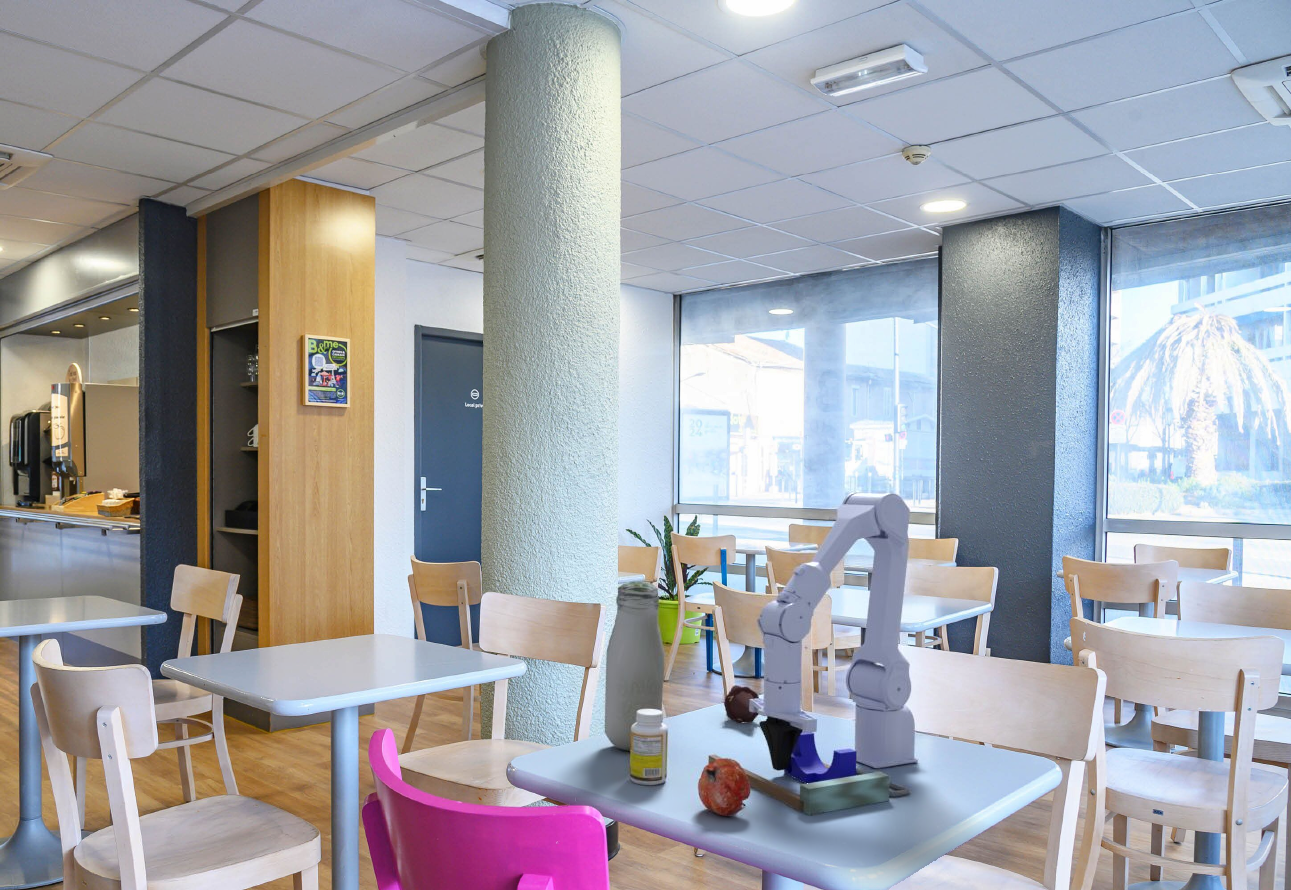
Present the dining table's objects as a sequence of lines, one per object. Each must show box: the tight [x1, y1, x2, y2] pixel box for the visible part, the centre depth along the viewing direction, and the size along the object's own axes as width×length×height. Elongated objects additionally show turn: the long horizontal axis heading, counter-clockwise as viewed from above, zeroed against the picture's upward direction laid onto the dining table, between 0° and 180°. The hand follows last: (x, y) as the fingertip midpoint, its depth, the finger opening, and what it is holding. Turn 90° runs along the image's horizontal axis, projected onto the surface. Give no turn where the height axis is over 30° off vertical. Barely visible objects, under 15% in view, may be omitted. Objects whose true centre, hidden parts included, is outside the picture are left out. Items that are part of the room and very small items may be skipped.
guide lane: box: [707, 754, 890, 816], centre depth 139 cm, size 15×25×4 cm, turn 29°
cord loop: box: [856, 767, 911, 798], centre depth 139 cm, size 4×13×1 cm, turn 29°
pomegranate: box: [697, 757, 751, 817], centre depth 125 cm, size 7×7×10 cm
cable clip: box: [783, 732, 857, 784], centre depth 139 cm, size 12×4×6 cm, turn 25°
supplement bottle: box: [629, 709, 669, 786], centre depth 138 cm, size 6×6×10 cm
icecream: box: [723, 685, 760, 724], centre depth 175 cm, size 7×7×15 cm
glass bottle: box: [604, 580, 666, 751], centre depth 155 cm, size 10×10×28 cm
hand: (780, 768), depth 142 cm, fingers closed
